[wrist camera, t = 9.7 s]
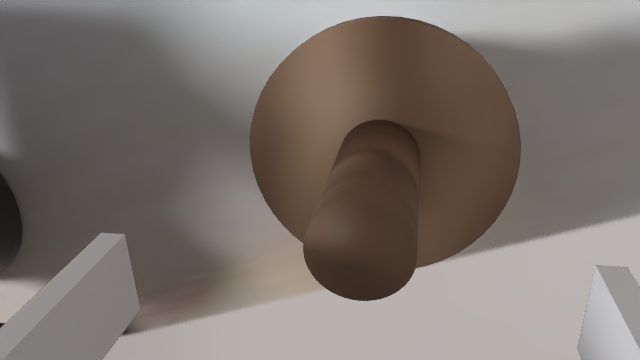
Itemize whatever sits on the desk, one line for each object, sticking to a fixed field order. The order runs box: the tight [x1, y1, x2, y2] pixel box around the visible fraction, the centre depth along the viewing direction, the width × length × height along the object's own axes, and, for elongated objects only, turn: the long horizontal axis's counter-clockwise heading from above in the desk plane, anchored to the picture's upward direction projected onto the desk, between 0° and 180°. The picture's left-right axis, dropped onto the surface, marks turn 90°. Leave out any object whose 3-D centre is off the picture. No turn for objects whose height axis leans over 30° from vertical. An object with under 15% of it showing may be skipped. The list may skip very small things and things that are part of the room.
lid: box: [250, 16, 521, 301], centre depth 21 cm, size 12×12×9 cm
